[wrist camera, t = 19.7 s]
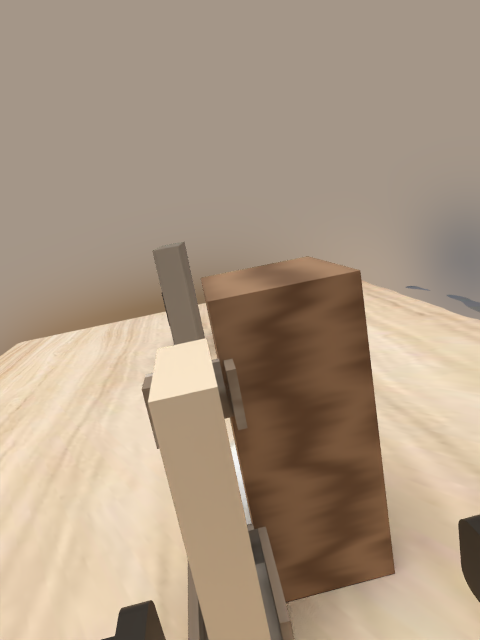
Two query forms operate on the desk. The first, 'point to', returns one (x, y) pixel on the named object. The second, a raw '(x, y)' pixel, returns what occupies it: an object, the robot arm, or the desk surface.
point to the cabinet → (299, 429)
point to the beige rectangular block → (206, 491)
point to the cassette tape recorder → (178, 293)
